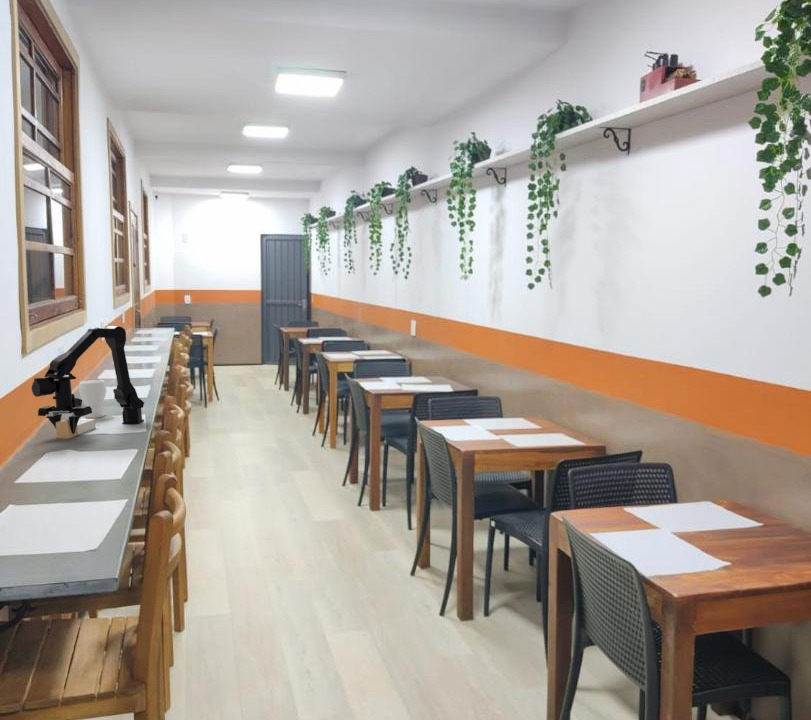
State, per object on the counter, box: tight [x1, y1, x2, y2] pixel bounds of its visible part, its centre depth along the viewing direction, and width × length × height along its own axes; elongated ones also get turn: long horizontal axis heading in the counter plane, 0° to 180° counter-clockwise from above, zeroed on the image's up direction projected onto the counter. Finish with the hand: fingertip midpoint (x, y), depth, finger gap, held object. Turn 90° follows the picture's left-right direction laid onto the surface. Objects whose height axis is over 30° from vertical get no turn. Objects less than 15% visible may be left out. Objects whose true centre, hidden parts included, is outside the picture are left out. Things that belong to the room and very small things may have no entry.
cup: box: [78, 379, 107, 419], centre depth 317 cm, size 11×11×15 cm
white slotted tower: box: [76, 418, 97, 436], centre depth 289 cm, size 5×12×4 cm, turn 171°
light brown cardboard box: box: [55, 418, 78, 439], centre depth 280 cm, size 5×5×6 cm
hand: (66, 433), depth 280 cm, fingers closed on light brown cardboard box, 5 cm apart
